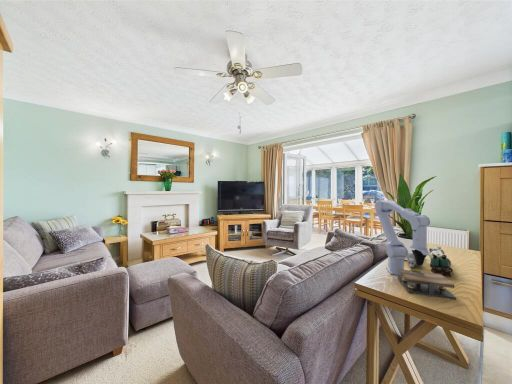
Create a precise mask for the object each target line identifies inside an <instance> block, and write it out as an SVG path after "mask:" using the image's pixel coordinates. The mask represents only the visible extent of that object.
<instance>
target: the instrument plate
mask: <svg viewBox="0 0 512 384" xmlns="http://www.w3.org/2000/svg"><path fill="white" fill-rule="evenodd" d="M399 273H400V274H401V275H400V276H401V277H404V279H405V280H406V281H407V282H410V283H418V284H426V285H428V283H431V284H434V286H441V287H445V288H449V289H450V288H451V289H455V286H456V285H455V284H454V283H452V281H450V280H449V279H448V278H446V277H445V276H444V275H442V273H441V274H435V273H434V272H425V271H422V269H417V268H415V269H414V268H410V269H409V270H407V269H404V270H400V269H399Z"/></svg>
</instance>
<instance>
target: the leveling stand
mask: <svg viewBox="0 0 512 384" xmlns="http://www.w3.org/2000/svg"><path fill="white" fill-rule="evenodd" d="M397 280H398V281H399V282H400V284H401V285H402V286H403V287H404V289H405V290H406V291H407V293H408V294H413V295H420V296H426V297H427V296H429V297H436V298H442V299H449V300H457V297H456V296H455V294H453V293H451V291H449V290H448V289H447V287H441V286H434V284H431V283H428V285H426V284H418V283H410V282H407V281H406V280H405V279H404V277H403V276H401V277H399V276H398V277H397Z"/></svg>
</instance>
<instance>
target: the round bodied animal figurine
mask: <svg viewBox="0 0 512 384" xmlns="http://www.w3.org/2000/svg"><path fill="white" fill-rule="evenodd" d="M406 260H407V264H408V266H409V267H410V269H414V268H415V266H416V267H418V266H420V265H417V264H416V260H415V257H414V254H413V252H412V250H411V251H408V256H407V257H406Z"/></svg>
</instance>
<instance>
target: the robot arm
mask: <svg viewBox="0 0 512 384" xmlns="http://www.w3.org/2000/svg"><path fill="white" fill-rule="evenodd" d="M374 209H375V211H376V214H377V217H378V220H379V222H380V225H381V227H382V230H383V232H384V235H385V237H386V240H387V243H386V244H385V245H384V247H385V253H386V255H387V256H388V258H387V266H386V271H388V272H389V274H390V275H396V276H402V275H401V274H400V273H399V269H400V270H405V259H406V260H407V258H406V257H407V256H408V252H409V250H408V248H407V247H406V245H405V244H404V242H402V241H400V240H399V239H398V236H397V234H396V232H395V229H394V227H393V224H392V221H391V219H390V217H389V216H390V215H391V214H392V212H393V211H394V212H396V213H398V214H400V216H401V218H403V220H406V221H407V222H409V224H410V227H411V229H412V243H411V245H410V246H409V248H410V249H411V251H412V252H413V254H414V257H415V260H416V264H417V265H419V266H421V267H422V266H423V265H424V262H425V259H426V257H427V256H429V249H428V245H427V244H428V242H427V241H428V239H427V238H428V226H430V224H431V221H430V220H431V219H430V218H429V217H428V216H427V215H425V214H422V215H421V214H419V212H416V211H413V209H412V208H404V207H402V206H401V205H399V204H398V203H397V202H396V201H395V200H392V199H390V200H387V199H385V200H384V199H383V200H375V203H374Z"/></svg>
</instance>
